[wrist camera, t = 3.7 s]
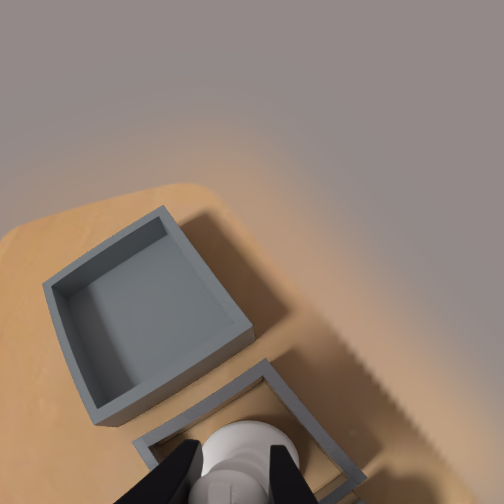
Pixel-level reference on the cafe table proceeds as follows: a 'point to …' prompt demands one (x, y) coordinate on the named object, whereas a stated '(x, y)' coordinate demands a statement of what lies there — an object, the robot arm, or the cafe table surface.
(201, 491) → the chess piece
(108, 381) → the tray
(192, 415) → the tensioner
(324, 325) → the cafe table surface
